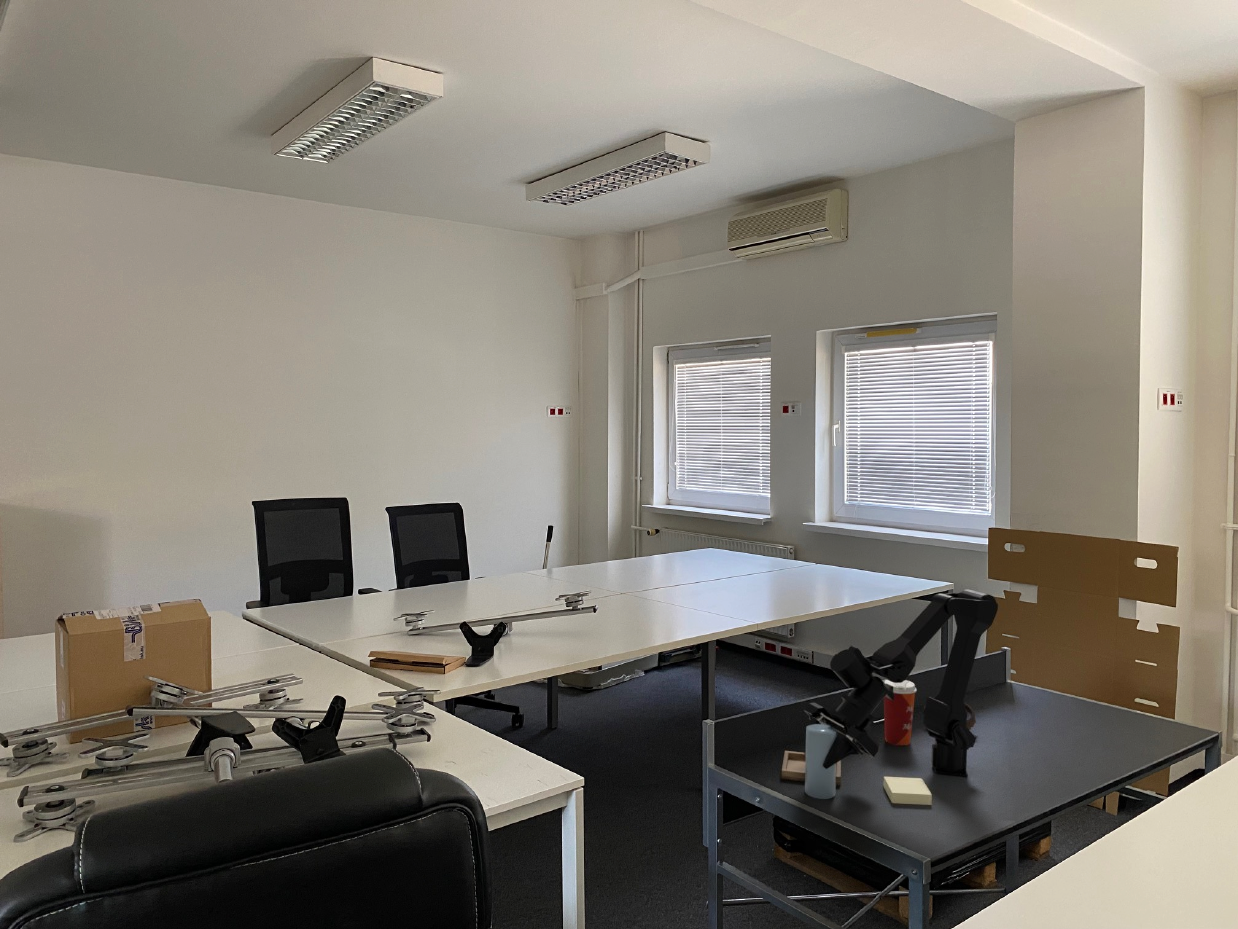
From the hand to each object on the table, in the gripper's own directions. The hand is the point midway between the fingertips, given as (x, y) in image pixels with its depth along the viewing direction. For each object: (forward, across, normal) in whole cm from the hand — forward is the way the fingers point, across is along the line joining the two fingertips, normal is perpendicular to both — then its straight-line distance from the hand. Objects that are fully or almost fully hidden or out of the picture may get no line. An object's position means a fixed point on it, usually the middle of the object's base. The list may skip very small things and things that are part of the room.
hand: (815, 761), depth 173 cm
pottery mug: (-32, +19, -42) cm, 56 cm away
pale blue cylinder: (+4, 0, -6) cm, 7 cm away
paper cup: (-20, +17, -30) cm, 39 cm away
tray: (+1, +9, -9) cm, 13 cm away
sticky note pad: (-7, -7, -17) cm, 20 cm away
